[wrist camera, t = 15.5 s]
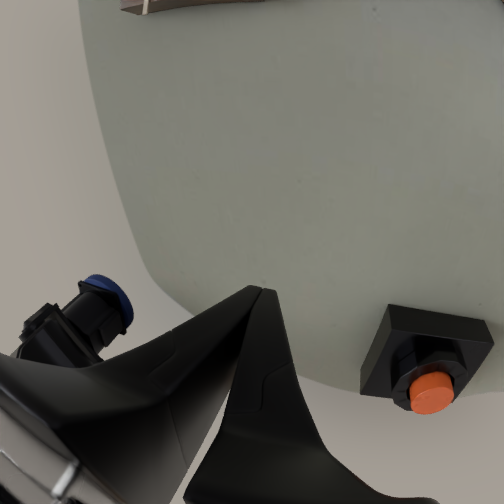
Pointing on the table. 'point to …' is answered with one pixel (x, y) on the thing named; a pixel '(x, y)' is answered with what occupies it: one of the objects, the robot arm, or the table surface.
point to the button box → (422, 352)
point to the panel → (165, 4)
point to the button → (431, 393)
